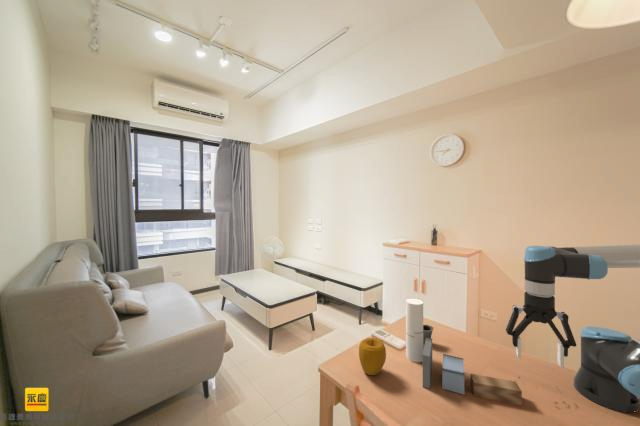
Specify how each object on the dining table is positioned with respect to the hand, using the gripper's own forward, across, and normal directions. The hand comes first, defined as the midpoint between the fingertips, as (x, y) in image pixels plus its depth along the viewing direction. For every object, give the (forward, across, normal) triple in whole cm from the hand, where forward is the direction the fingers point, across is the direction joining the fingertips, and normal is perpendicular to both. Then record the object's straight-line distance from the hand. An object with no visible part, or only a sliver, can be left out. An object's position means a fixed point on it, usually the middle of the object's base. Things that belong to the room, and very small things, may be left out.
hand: (538, 360), depth 83 cm
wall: (+16, +34, 0) cm, 37 cm away
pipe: (+16, +38, -24) cm, 48 cm away
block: (+16, +25, 0) cm, 29 cm away
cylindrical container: (+16, +40, -11) cm, 44 cm away
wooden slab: (+16, +12, 0) cm, 20 cm away
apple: (+16, +54, +7) cm, 57 cm away
